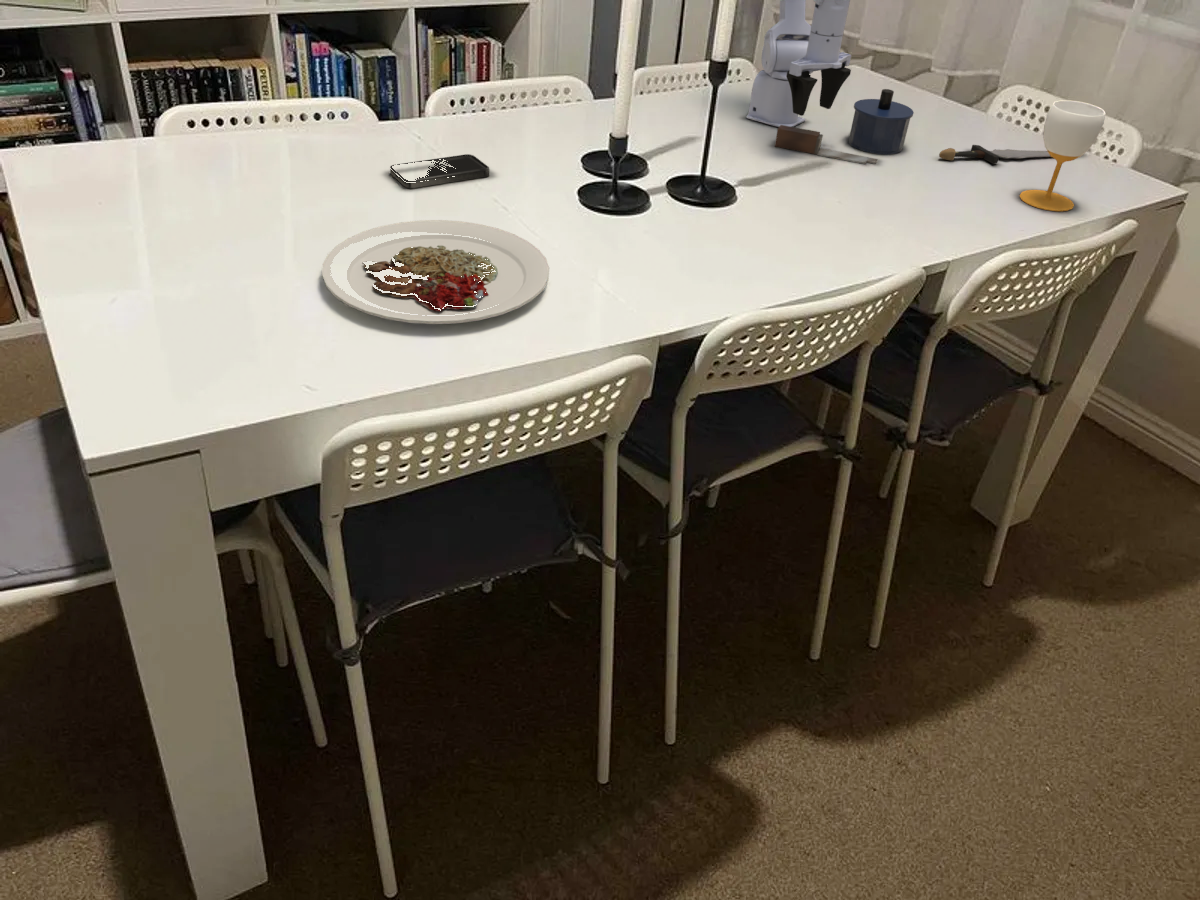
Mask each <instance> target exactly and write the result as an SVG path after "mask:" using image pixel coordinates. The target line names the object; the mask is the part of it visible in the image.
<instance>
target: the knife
mask: <svg viewBox="0 0 1200 900" xmlns="http://www.w3.org/2000/svg"><path fill="white" fill-rule="evenodd" d="M823 137H824V134H821V132H820V131H817V130H811V129H806V128H800V127H795V126H794V127H790V126H784V125H780V127H777V130H776V137H775V143H774V147H775V148H780V149H786V150H791V151H797V152H800V153H805V154H812V155H816V156H819V157H825V158H829V159H834V160H835V159H836V160H841V161H847V162H851V163H855V164H862V165H867V163H868V164H873V165H877V162H878V158H873V157H869V156H864V155H859V154H853V153H848V152H844V151H843V152H842V151H837V150H832V149H827V148H822V147H821V146H822V143H823Z"/></svg>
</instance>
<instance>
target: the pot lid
mask: <svg viewBox="0 0 1200 900" xmlns="http://www.w3.org/2000/svg"><path fill="white" fill-rule="evenodd" d="M894 93H895V91H894V90H893V89H889V88H883V89H882V90H881V92H880V98H864V99H859V100H857V101H855V102H854V105H853V108H854V111H855V110H856V111H857V112H859V113H861V114H863V115H866V116H869V117H873V118H877V119H883V120H906V119H909V118H910V119H911V118H913V116H914V114H915V113H914V110H913V108H911V107H909V106H907V105H905V104H903V103H900V102H897V101H893V98H894Z"/></svg>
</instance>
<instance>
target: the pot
mask: <svg viewBox="0 0 1200 900" xmlns="http://www.w3.org/2000/svg"><path fill="white" fill-rule="evenodd" d="M852 118H853V119H852V123H851V126H850V132H849V137H848V144H849V145H850V146H851V147H853V148H854V149H857V150H860V151H862V152H866V153H870V154H876V155H895V154H898V153H901V152H902V151H903V148H904V145H905V142H906V138H907V132H908V129H909V125H910V121H911V118H909V119H906V120H883V119H877V118H873V117H869V116H866V115H863V114H861V113H859V112H857V111H856V110H855V109H854V113H853V117H852Z"/></svg>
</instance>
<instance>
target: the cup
mask: <svg viewBox="0 0 1200 900" xmlns="http://www.w3.org/2000/svg"><path fill="white" fill-rule="evenodd" d="M1106 114H1107V112H1106V111H1105V110H1104V108H1101V107H1099V106H1098V105H1095V104H1094V105H1093V104H1091V103H1087V102H1083V101H1078V100H1070V99H1061V100H1055V101H1053V103H1052V104H1051V106H1050V108H1049V110H1048V111H1047V114H1046V117H1045V120H1044V125H1043V134H1042V135H1043V137H1042V138H1043V143H1044V148H1045V150H1046V151H1048V153H1049V154H1050V156H1051V157H1050V158H1052V159H1054V160H1055V161H1056V165H1055V168H1054V170H1053V173H1052V176H1051V179H1050V182H1049V185H1048V188H1047V189H1046V190H1042V189H1027V190H1023V191H1021V193H1020V194H1019V198H1020V200H1021V202H1024V203H1025V204H1026V205H1029V206H1031V207H1033V208H1036V209H1040V210H1043V211H1050V212H1068V211H1070V210H1073V208H1074V206H1075V204H1074V202H1073V201H1072V199H1070V198H1069V197H1066V196H1064V195H1062V194H1060V193H1058V192H1053V191H1054V188H1055V185H1056V182H1057V180H1058V176H1059V174H1060V172H1061V169H1062V166H1063V164H1064V163H1066V162H1071V161H1075V160H1077V159H1078V158H1081V157H1082V156H1084V155H1085V154H1086V153H1087V152H1088V151H1089V150H1090V149H1091V147H1092V146H1093V145H1094V143H1095V141H1096V140H1097V138H1098V137H1099V135H1100V132H1101V131H1102V128H1103V126H1104V125H1105V119H1106Z"/></svg>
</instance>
